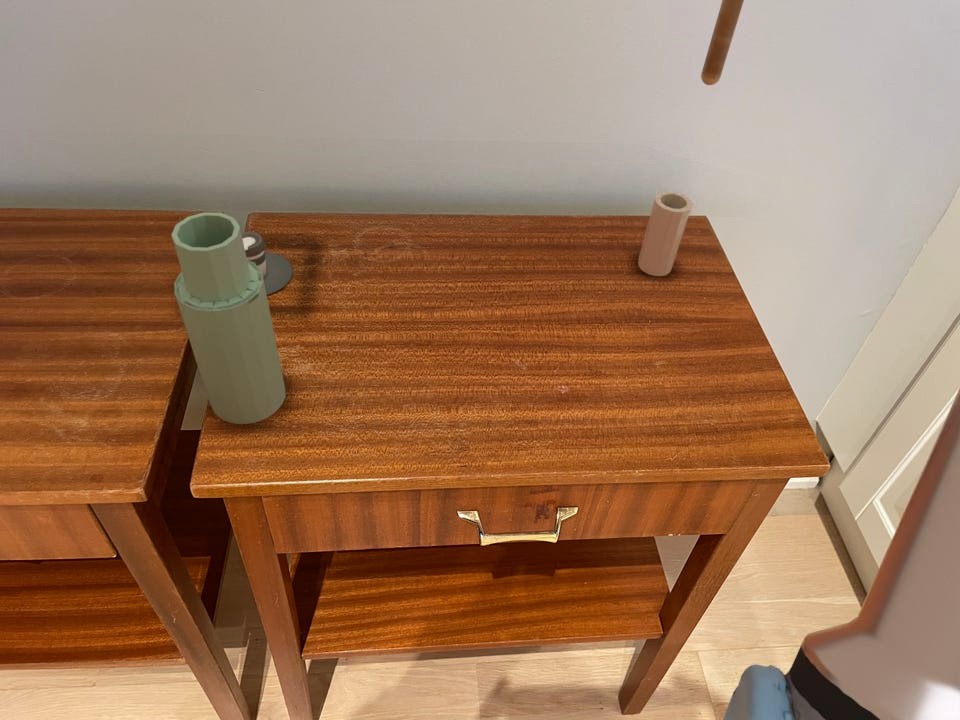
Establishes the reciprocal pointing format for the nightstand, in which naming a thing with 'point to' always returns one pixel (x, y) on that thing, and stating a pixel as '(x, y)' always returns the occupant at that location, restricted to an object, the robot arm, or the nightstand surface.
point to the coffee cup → (267, 262)
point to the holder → (664, 232)
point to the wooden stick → (721, 40)
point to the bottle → (227, 319)
